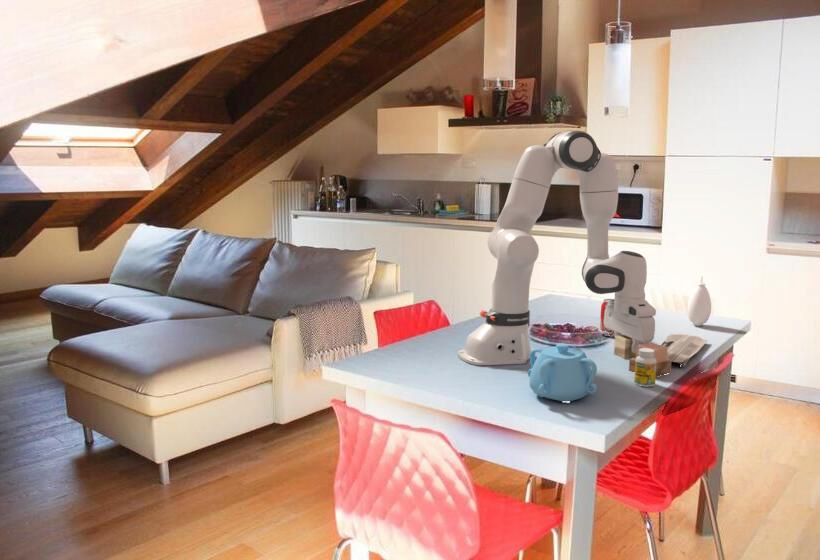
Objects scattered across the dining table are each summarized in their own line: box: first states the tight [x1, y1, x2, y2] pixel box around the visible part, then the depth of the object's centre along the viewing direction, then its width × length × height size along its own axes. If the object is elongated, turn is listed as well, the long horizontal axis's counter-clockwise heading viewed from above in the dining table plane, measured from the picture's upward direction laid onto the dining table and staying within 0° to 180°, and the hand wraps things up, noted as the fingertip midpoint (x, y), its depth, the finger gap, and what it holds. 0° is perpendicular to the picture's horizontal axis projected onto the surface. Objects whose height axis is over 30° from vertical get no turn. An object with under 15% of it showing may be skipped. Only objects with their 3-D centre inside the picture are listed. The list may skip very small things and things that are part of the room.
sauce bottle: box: [687, 276, 712, 327], centre depth 252 cm, size 8×8×18 cm
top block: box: [636, 342, 668, 364], centre depth 199 cm, size 6×6×4 cm
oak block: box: [613, 334, 636, 360], centre depth 216 cm, size 5×5×6 cm
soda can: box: [599, 298, 615, 338], centre depth 239 cm, size 7×7×12 cm
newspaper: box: [660, 333, 708, 369], centre depth 219 cm, size 35×12×4 cm, turn 150°
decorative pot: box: [527, 342, 598, 402], centre depth 180 cm, size 16×16×14 cm
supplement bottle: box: [633, 348, 656, 387], centre depth 189 cm, size 5×5×10 cm
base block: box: [628, 357, 672, 377], centre depth 200 cm, size 8×8×4 cm
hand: (626, 349), depth 216 cm, fingers open, 5 cm apart
